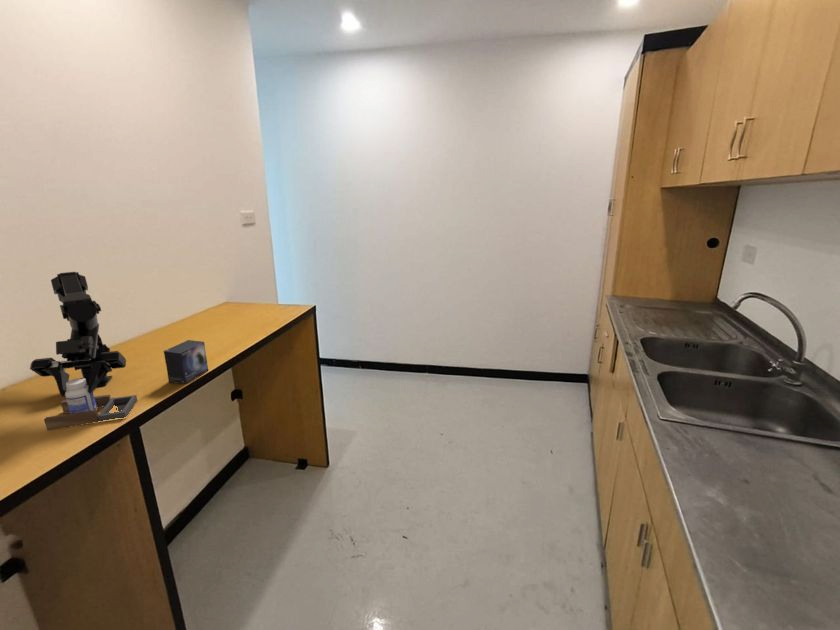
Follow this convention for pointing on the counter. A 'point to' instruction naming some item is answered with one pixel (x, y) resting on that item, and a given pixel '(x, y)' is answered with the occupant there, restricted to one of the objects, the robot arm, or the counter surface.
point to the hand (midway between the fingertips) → (76, 394)
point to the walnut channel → (76, 415)
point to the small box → (186, 361)
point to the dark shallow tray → (121, 403)
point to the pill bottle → (79, 396)
